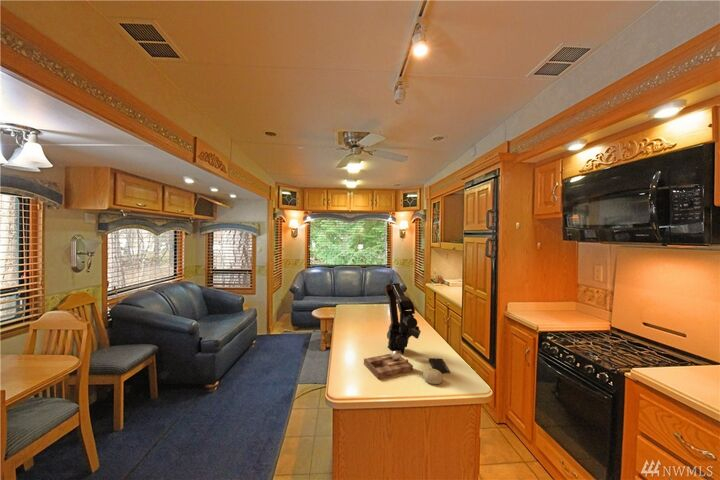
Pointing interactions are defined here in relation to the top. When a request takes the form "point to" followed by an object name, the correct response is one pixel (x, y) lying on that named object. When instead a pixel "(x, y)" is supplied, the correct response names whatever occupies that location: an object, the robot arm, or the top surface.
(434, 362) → the phone
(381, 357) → the hole deck
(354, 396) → the top surface
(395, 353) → the steel ball
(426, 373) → the sea urchin shell
